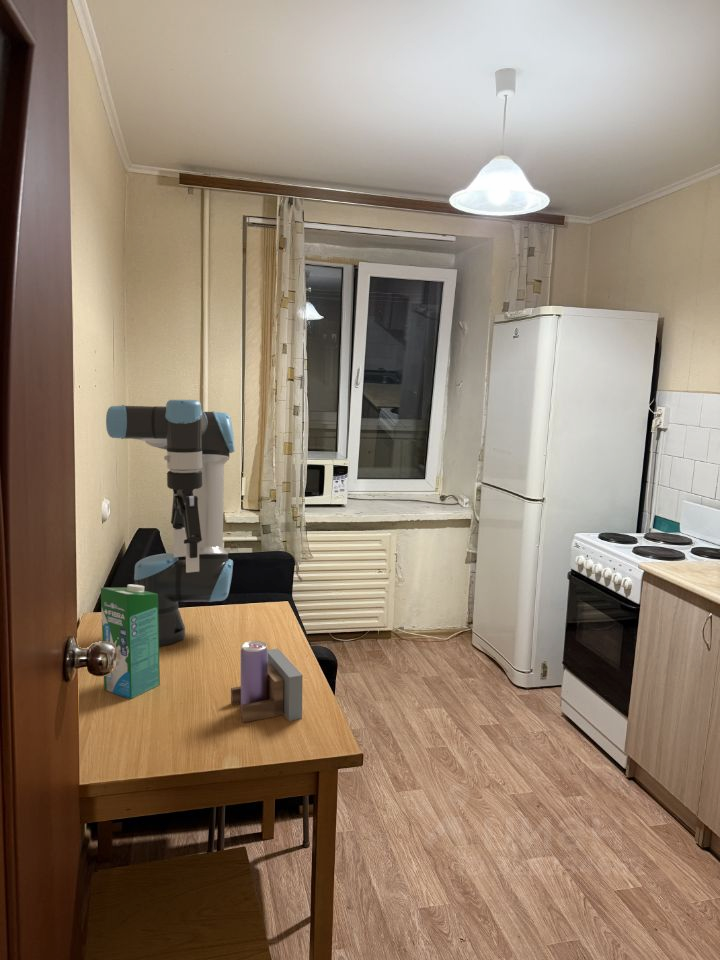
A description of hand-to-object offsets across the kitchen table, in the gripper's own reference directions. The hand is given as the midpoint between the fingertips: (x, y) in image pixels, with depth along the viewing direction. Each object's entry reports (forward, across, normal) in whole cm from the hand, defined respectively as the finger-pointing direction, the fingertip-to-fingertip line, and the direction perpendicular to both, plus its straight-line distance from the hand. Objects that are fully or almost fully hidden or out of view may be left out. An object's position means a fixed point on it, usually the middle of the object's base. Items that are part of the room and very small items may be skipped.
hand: (186, 563), depth 154 cm
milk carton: (+32, -10, -11) cm, 35 cm away
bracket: (+32, +12, +13) cm, 36 cm away
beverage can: (+32, +12, +12) cm, 36 cm away
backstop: (+32, +12, +19) cm, 39 cm away
